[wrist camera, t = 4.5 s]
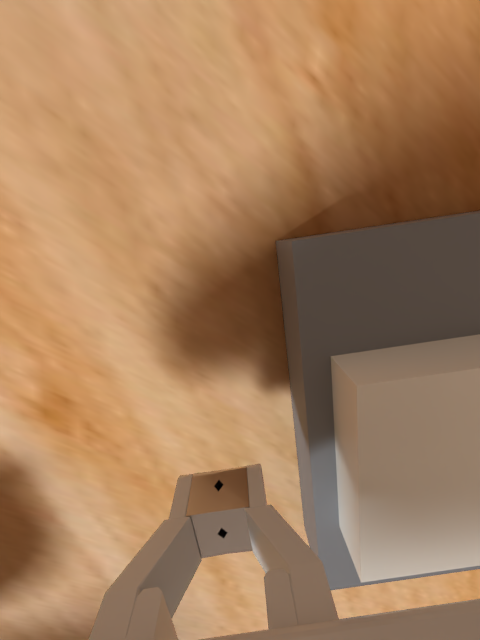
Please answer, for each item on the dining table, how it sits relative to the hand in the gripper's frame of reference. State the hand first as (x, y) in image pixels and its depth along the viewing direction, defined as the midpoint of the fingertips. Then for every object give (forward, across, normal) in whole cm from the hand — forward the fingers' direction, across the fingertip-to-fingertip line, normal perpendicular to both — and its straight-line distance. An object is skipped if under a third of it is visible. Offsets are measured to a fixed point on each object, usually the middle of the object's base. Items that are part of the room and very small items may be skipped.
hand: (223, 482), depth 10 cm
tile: (+1, -7, 0) cm, 7 cm away
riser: (+4, -8, 0) cm, 9 cm away
